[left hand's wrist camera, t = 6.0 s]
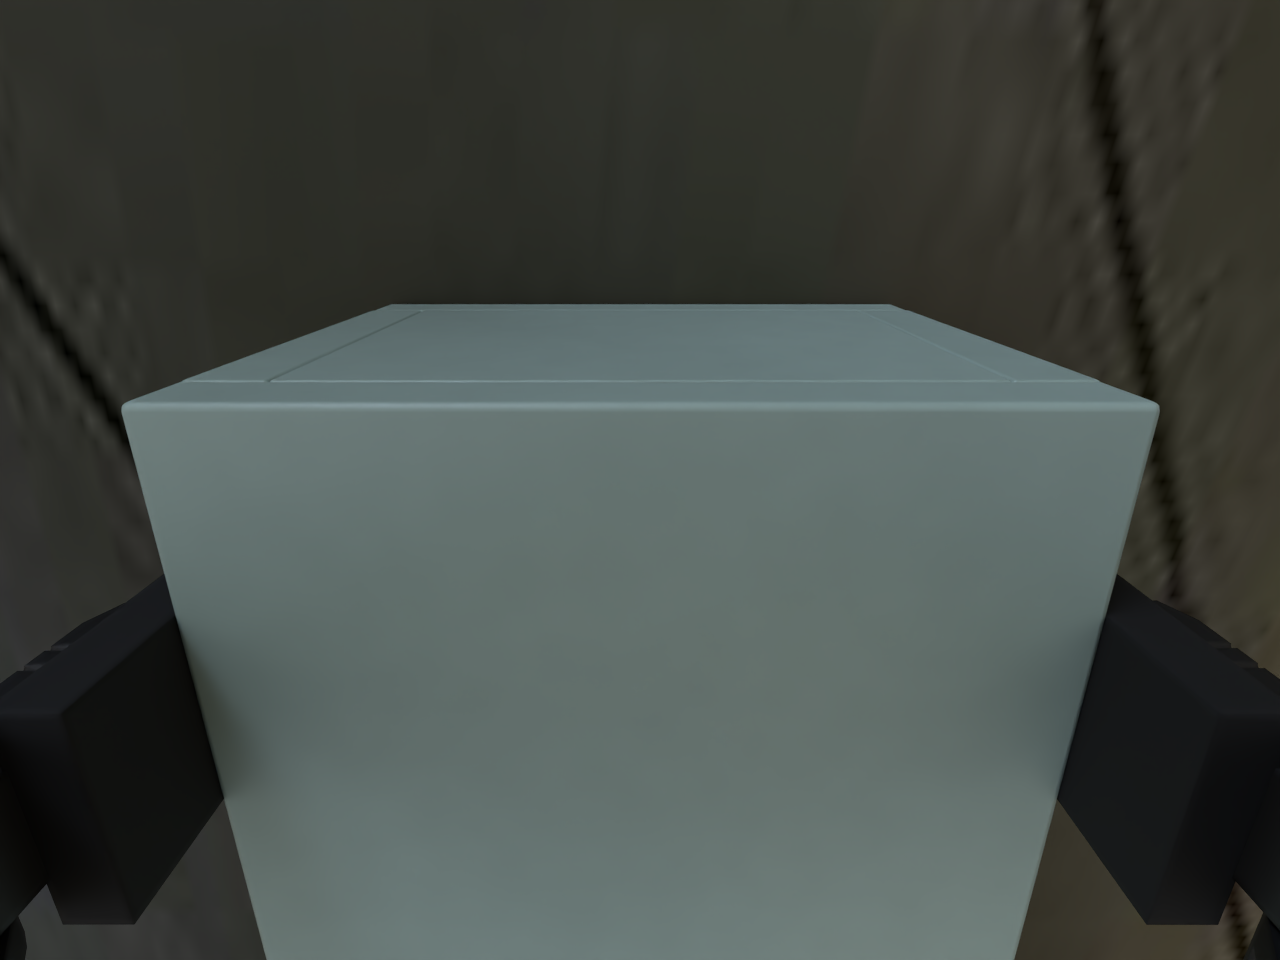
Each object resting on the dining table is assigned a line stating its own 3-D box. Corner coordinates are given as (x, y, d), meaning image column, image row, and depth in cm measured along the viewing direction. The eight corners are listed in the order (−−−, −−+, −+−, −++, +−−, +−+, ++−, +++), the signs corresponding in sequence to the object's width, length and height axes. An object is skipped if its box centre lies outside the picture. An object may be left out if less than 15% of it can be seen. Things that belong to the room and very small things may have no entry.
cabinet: (810, 972, 22) (903, 1386, 14) (469, 972, 22) (377, 1385, 14) (892, 303, 15) (1166, 403, 7) (388, 303, 15) (113, 403, 7)
